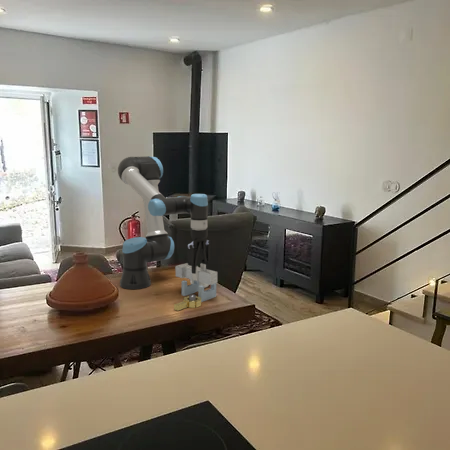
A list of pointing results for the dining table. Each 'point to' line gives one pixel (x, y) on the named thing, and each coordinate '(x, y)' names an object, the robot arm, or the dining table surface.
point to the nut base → (192, 297)
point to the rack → (198, 290)
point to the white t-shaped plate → (203, 274)
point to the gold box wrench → (188, 303)
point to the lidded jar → (200, 283)
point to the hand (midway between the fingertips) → (199, 278)
